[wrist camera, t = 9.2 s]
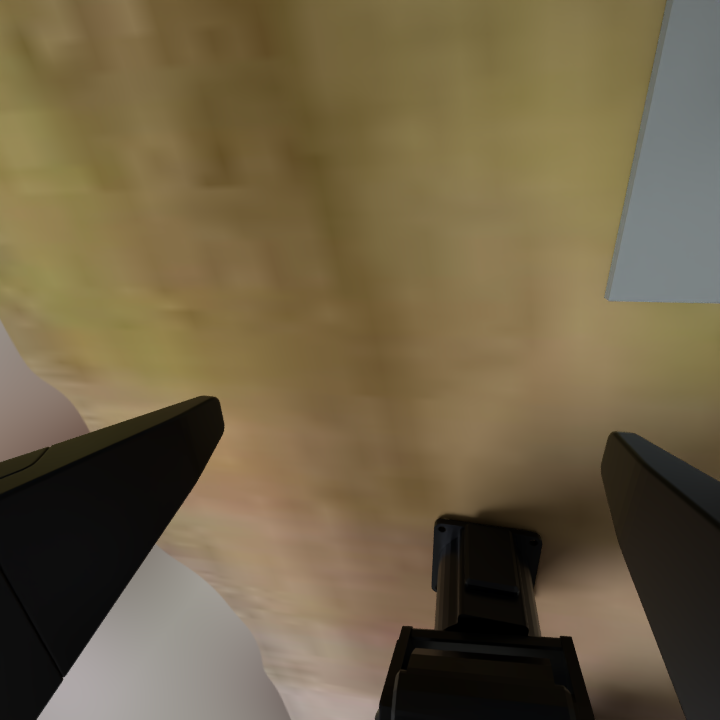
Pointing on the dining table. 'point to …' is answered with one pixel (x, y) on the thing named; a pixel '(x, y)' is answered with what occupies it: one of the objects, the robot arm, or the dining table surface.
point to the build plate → (675, 169)
